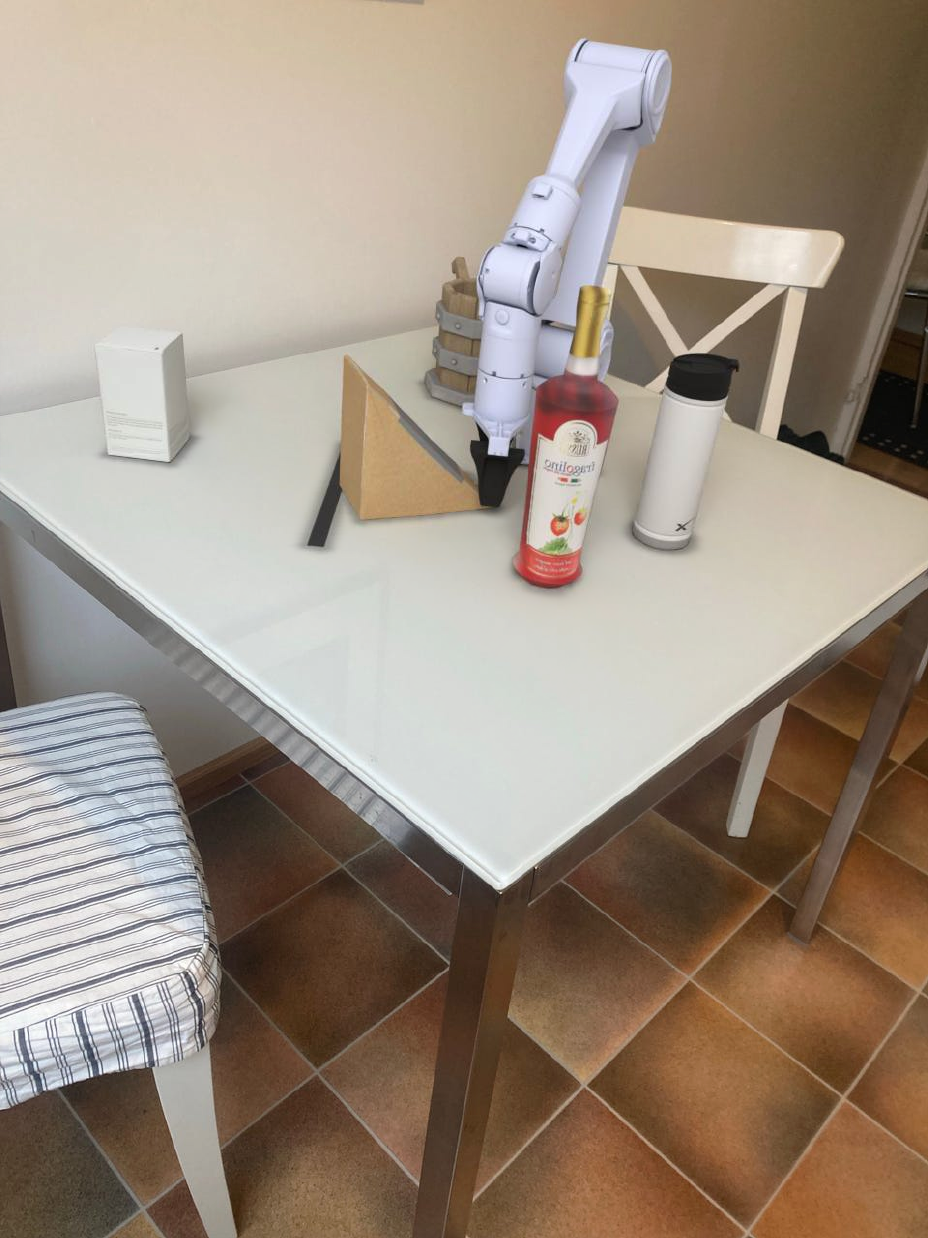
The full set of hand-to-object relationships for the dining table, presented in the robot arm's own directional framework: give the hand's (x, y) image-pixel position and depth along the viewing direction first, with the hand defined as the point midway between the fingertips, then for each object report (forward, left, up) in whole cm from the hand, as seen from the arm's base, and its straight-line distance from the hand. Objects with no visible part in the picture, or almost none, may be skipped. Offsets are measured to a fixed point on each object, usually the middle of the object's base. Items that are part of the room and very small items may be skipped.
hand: (490, 489), depth 108 cm
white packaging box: (+39, -5, -2) cm, 39 cm away
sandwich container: (+8, 0, -2) cm, 8 cm away
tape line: (+17, +1, -2) cm, 17 cm away
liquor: (-6, +14, -2) cm, 15 cm away
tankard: (+4, -37, -2) cm, 37 cm away
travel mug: (-19, +3, -2) cm, 19 cm away
